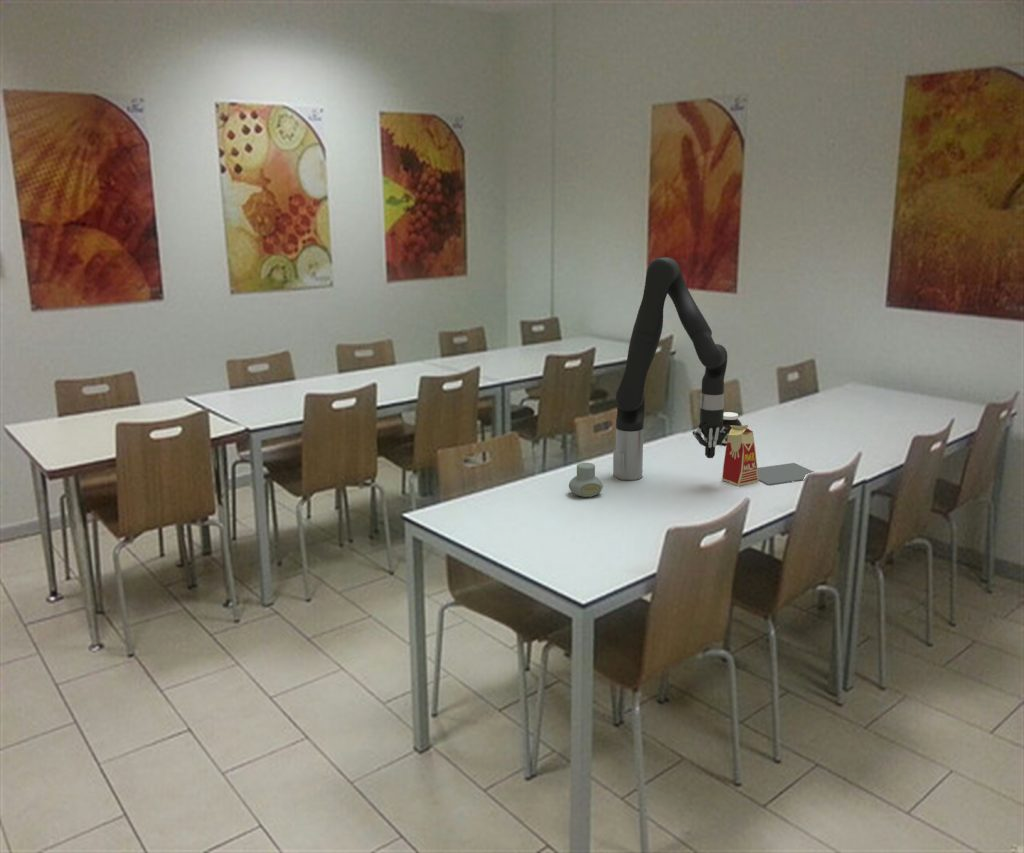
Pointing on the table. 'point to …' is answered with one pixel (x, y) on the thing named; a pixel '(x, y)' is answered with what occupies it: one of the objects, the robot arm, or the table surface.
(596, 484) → the air freshener
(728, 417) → the spread jar
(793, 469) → the mat
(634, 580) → the table surface
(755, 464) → the milk carton
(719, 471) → the table surface
